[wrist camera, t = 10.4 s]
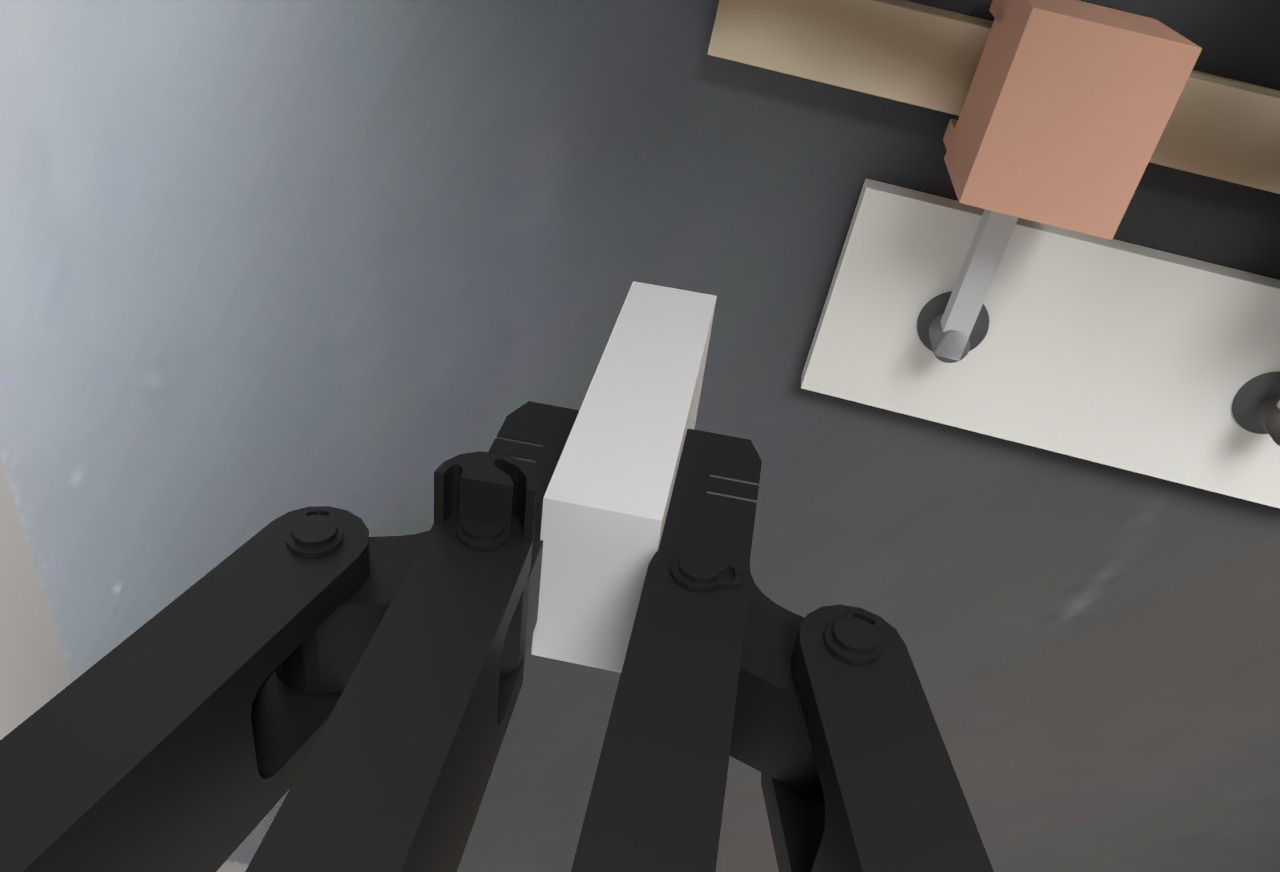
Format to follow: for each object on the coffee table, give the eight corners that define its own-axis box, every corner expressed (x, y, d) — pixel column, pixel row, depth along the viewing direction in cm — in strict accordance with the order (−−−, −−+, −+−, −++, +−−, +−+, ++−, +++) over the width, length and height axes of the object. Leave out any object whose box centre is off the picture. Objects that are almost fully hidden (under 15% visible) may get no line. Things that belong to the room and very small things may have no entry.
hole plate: (865, 177, 41) (866, 188, 40) (1421, 314, 40) (1438, 329, 39) (801, 375, 45) (800, 389, 44) (1297, 499, 45) (1309, 517, 44)
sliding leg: (1000, -23, 36) (1033, 7, 30) (1144, 11, 36) (1202, 48, 30) (878, 317, 43) (886, 392, 37) (998, 347, 43) (1023, 427, 37)
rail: (742, -88, 37) (725, -68, 31) (1559, 108, 36) (1709, 170, 30) (664, 256, 44) (637, 329, 38) (1346, 426, 43) (1433, 528, 37)
